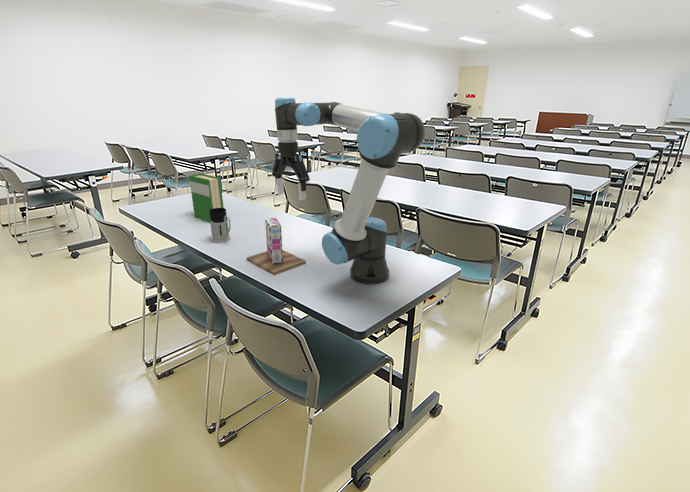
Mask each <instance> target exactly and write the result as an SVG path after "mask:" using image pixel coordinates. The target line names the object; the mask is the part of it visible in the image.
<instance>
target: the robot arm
mask: <svg viewBox="0 0 690 492" xmlns="http://www.w3.org/2000/svg"><path fill="white" fill-rule="evenodd" d="M274 111H275V112H274V113H275V114H274V115H275V121H276V122H275V124H276V135H277V141H278V143H277V151H278V152H277V153H275V156H274V157H275V159H274V163H273V168H272V172H271V176H272V177H274V179H275V184H276V190H277V196H281V195H284V194H285V187H284V177H283V174H284V172H285V171H286V168H287V167H290V169H292V170H293V172H294V174H295V175H296V177H297V179H298V185H297V186H298V195H299V196H298V198H299V199H298V200H300V201H304V200H306V199H307V193H306V191H307V182H311V181H310V180H311V178H310V176H309V173H308V171H307V167H306V164H305V162H304V156H303V155H302V154H300V155H298V154H297V153H298V151H299V143H298V140H299V138H298V126H301V127H303V126H304V127H312V126H315V125H318V126H319V125H332V126H335V127H339V128H345V129H348V130H352V131H355V132H357V134H356V142H357V148H358V149H357V150H358V151H359V154H358V157H360V159H361V161H360V164H359V167H358V169H357V173H356V176H355V179H354V181H353V183H352V187H351V189H350V193H349V195H348V198H347V200H346V204H345V206H344V208H343V209H344V210H343V212H342V215H341V218H338V219H336V220H335V222H334V223H333V227H332V229H331V231H330V232H326V233H325V234H324V235H323V236H322V238H321V247H322V250H323V253H324V255H325V256H326V258H327V259H328V260H329V261H330V263H333V264H334V265H341V264H347V263H348V262H351V261H352V264H351V267H350V269H349V270H350V273H349V274H350V278H351V279H352V280H353V281H355V282H359V283H361V284H367V285H368V284H370V285H371V284H372V285H373V284H375V285H376V284H379V283H383V282H385V281H387V280H388V279H389V278H390V269H389V267H388V262H387V259H386V250H387V249H386V248H387V247H386V246H387V233H388V231H387V229H388V228H387V222H386V221H385V220H384V219H381V218H379V217H374V216H370V215H371V214H372V211H373V209H374V206H375V204H376V201H377V199H378V196H379V194H380V191H381V189H382V187H383V185H384V181H385V179H386V177H387V175H388V171H390V170H393V169H394V168H396V166H397V164H398V161H399V159H400V156H401V155H404V154H408V153H411V152H414V151H416V150H417V149H419V148H420V147H421V145H422V144H423V142H424V140H425V136H426V127H425V123H424V122H423V120H422V119H421V118H420V117H419V116H418V115H416V114H414V113H410V112H409V113H408V112H394V113H390V114H389V113H387V112H386V113H385V112H379V111H375V110H371V109H366V108H360V107H355V106H349V105H345V104H343V103H342V102H336V101H332V102H297V103H296V99H295V98H294V97H277V98H275V99H274Z"/></svg>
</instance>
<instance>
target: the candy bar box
mask: <svg viewBox="0 0 690 492" xmlns="http://www.w3.org/2000/svg"><path fill="white" fill-rule="evenodd" d="M264 222H265V237H266V240H265V241H266V251H267V255H268V257H269V259H270V261H271V264H279V263H283V256H282V250H283V238H282V225H281V223H280V222H279V221H278V218H277V217H272V218H265V219H264Z"/></svg>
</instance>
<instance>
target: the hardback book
mask: <svg viewBox="0 0 690 492" xmlns="http://www.w3.org/2000/svg"><path fill="white" fill-rule="evenodd" d="M188 179H189V187H190V191H191V192H190V193H191V199H192V200H191V201H192V208H193V213H194V214H193V215H194V218H195V219H197V218H198V220H200V219H201V221H203V222H207V223H210V213H209V210H210V209H213V208H224V207H225V206H224V200H223V192H222V184H221V183H222V182H221V177H219V176H214V175H209V174H204V173H196V174H192V175H191V174H190V175H188ZM210 224H211V223H210Z"/></svg>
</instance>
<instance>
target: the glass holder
mask: <svg viewBox="0 0 690 492" xmlns="http://www.w3.org/2000/svg"><path fill="white" fill-rule="evenodd" d="M209 213H210V228H211V229H210V230H211V231H210V232H211V237H212V238H211V243H215V244H223V243H228V242H230V241H231V236H230V231H231V219H230V216H228V215H227V209H226V208H213V209H210V210H209Z"/></svg>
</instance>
